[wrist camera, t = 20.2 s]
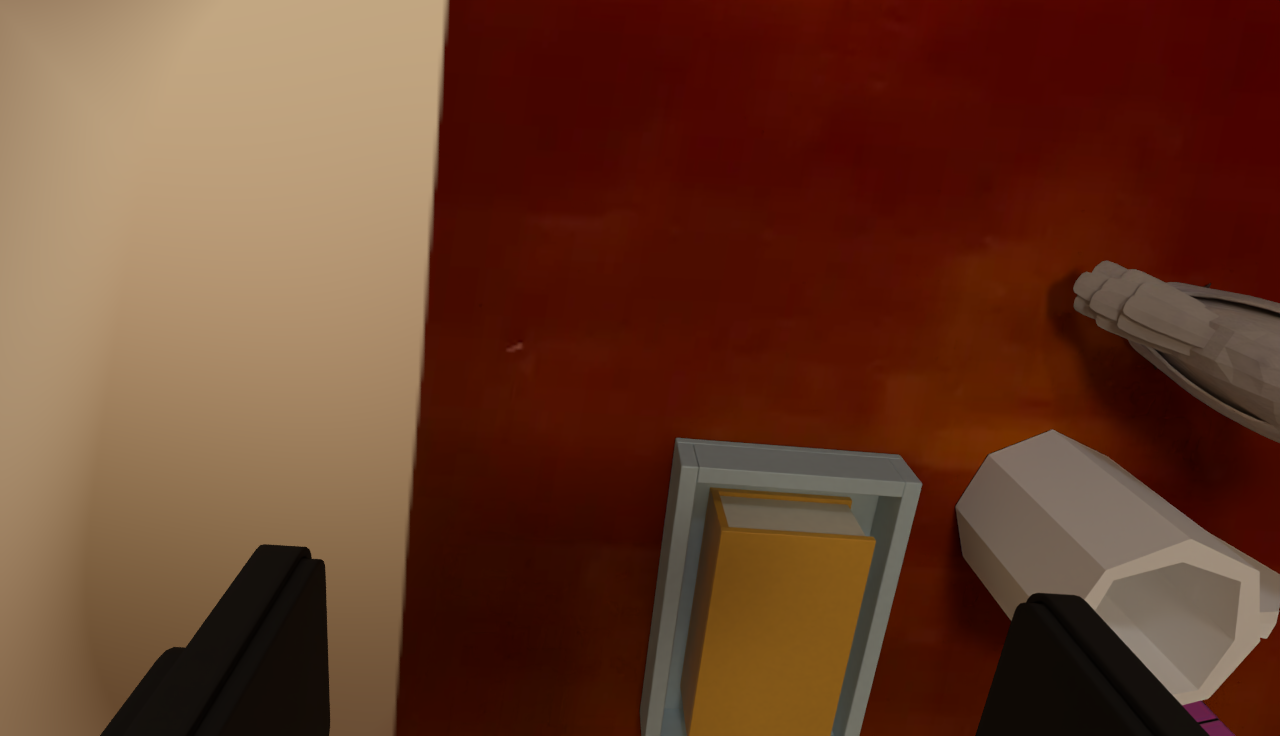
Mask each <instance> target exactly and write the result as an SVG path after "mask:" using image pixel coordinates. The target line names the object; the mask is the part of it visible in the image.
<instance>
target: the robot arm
mask: <svg viewBox="0 0 1280 736" xmlns="http://www.w3.org/2000/svg"><path fill="white" fill-rule="evenodd" d="M325 578H326V576H325V564H324V561H323V560H321V559H312V558H311V553H310V550H309V549H308V548H307V547H296V546H281V545H260V546H259V547H258V548H257V549H256V551H255V552H254V553H253V555H252V556H251V558H250V559H249V560H248V562H247V563H246V564H245V566H244V567H243V568H242V570H241V571H240V573H239V574H238V575H237V577H236V578H235V580H234V581H233V582H232V584H231V585H230V587H229V588H228V590H227V591H226V592H225V594H224V595H223V596H222V598H221V599H220V601H219V602H218V603H217V605H216V606H215V608H214V609H213V610H212V612H211V613H210V615H209V616H208V617H207V619H206V620H205V621H204V623H203V624H202V626H201V627H200V628H199V630H198V631H197V633H196V634H195V635H194V637H193V638H192V640H191V641H190V643H189V644H188V645H187V647H186V648H181V647H173V648H171V649H169V650H166V651H165V652H164V653H163V654H162V655H161V656H160V657H159V658H158V660H157V661H156V662H155V663H154V665H153V666H152V667H151V669H150V670H149V671H148V673H147V674H146V675H145V676H144V678H143V679H142V680H141V682H140V683H139V685H138V686H137V687H136V688H135V690H134V691H133V693H132V694H131V695H130V697H129V698H128V699H127V700H126V702H125V703H124V704H123V706H122V707H121V709H120V710H119V711H118V712H117V714H116V715H115V716H114V718H113V719H112V720H111V722H110V723H109V724H108V726H107V727H106V728H105V730H104V731H103V732H102V734H101V735H100V736H329V731H330V730H329V729H330V703H329V673H328V672H329V671H328V639H327V608H326V579H325ZM976 736H1210V735H1209V734H1208V733H1207V732H1206V731H1205V730H1204V729H1203V728H1202V727H1201V725H1200V724H1199V723H1198V722H1197V721H1196V720H1195V719H1194V718H1193V717H1192V716H1191V715H1190V713H1189V712H1188V711H1187V710H1186V709H1185V708H1184V707H1183V706H1182V705H1181V704H1180V703H1179V702H1178V700H1177V699H1176V698H1175V697H1174V696H1173V695H1172V694H1171V693H1170V692H1169V691H1168V690H1167V689H1166V687H1165V686H1164V685H1163V684H1162V683H1161V682H1160V681H1159V680H1158V679H1157V678H1156V677H1155V676H1154V674H1153V673H1152V672H1151V671H1150V670H1149V669H1148V668H1147V667H1146V666H1145V665H1144V664H1143V663H1142V661H1141V660H1140V659H1139V658H1138V657H1137V656H1136V655H1135V654H1134V653H1133V652H1132V651H1131V650H1130V648H1129V647H1128V646H1127V645H1126V644H1125V643H1124V642H1123V641H1122V640H1121V639H1120V638H1119V637H1118V635H1117V634H1116V633H1115V632H1114V631H1113V630H1112V629H1111V628H1110V627H1109V626H1108V625H1107V624H1106V622H1105V621H1104V620H1103V619H1102V618H1101V617H1100V616H1099V615H1098V614H1097V613H1096V612H1095V611H1094V609H1093V608H1092V607H1091V606H1090V605H1089V604H1088V603H1087V602H1086V601H1085V600H1084V599H1082V598H1081V597H1080V596H1076V595H1067V594H1051V593H1035V594H1032V595H1031V596H1030V597H1029V598H1028V599H1027V602H1026V603H1020V604H1019V605H1018V606H1017V608H1016V610H1015V612H1014V615H1013V618H1012V621H1011V624H1010V628H1009V631H1008V634H1007V637H1006V640H1005V643H1004V647H1003V650H1002V653H1001V656H1000V659H999V663H998V666H997V669H996V672H995V675H994V678H993V682H992V685H991V688H990V691H989V694H988V697H987V701H986V704H985V707H984V710H983V713H982V716H981V720H980V723H979V726H978V729H977V732H976Z"/></svg>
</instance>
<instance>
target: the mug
mask: <svg viewBox="0 0 1280 736" xmlns="http://www.w3.org/2000/svg"><path fill="white" fill-rule="evenodd" d="M955 508H956V515H957V521H958V528H959V535H960V541H961V548H962V555H963V557H964V559H965V560H966V561H967V563H968V564H969V565H970V567H971V568H972V569H973V571H974V572H975V573H976V575H977V576H978V577H979V579H980V580H981V581H982V583H983V584H984V585H985V587H986V588H987V589H988V591H989V592H990V593H991V595H992V596H993V597H994V599H995V600H996V601H997V603H998V604H999V605H1000V607H1001V608H1002V609H1003V611H1004V612H1005V613H1006V615H1007V616H1008V617H1009V619H1010V620H1011V621H1012V618H1013V615H1014V612H1015V610H1016V608H1017V606H1018V605H1019V604H1020V603H1026V602H1027V599H1028V598H1029V597H1030V596H1031V595H1032V594H1035V593H1051V594H1067V595H1076V596H1080V597H1081V598H1082V599H1084V600H1085V601H1086V602H1087V603H1088V604H1089V605H1090V606H1091V607H1092V608H1093V609H1094V611H1095V612H1096V613H1097V614H1098V615H1099V616H1100V617H1101V618H1102V619H1103V620H1104V621H1105V622H1106V624H1107V625H1108V626H1109V627H1110V628H1111V629H1112V630H1113V631H1114V632H1115V633H1116V634H1117V635H1118V637H1119V638H1120V639H1121V640H1122V641H1123V642H1124V643H1125V644H1126V645H1127V646H1128V647H1129V648H1130V650H1131V651H1132V652H1133V653H1134V654H1135V655H1136V656H1137V657H1138V658H1139V659H1140V660H1141V661H1142V663H1143V664H1144V665H1145V666H1146V667H1147V668H1148V669H1149V670H1150V671H1151V672H1152V673H1153V674H1154V676H1155V677H1156V678H1157V679H1158V680H1159V681H1160V682H1161V683H1162V684H1163V685H1164V686H1165V687H1166V689H1167V690H1168V691H1169V692H1170V693H1171V694H1172V695H1173V696H1174V697H1175V698H1176V699H1177V700H1178V702H1179V703H1180V704H1181V705H1185V704H1189V703H1193V702H1197V701H1201V700H1205V699H1209V698H1210V696H1211V695H1212V694H1213V693H1214V692H1215V691H1216V690H1217V689H1218V688H1219V686H1220V685H1221V684H1222V683H1223V682H1224V681H1225V680H1226V679H1227V677H1228V676H1229V675H1230V674H1231V673H1232V672H1233V671H1234V670H1235V669H1236V667H1237V666H1238V665H1239V664H1240V663H1241V662H1242V661H1243V660H1244V659H1245V657H1246V656H1247V655H1248V654H1249V653H1250V652H1251V651H1252V650H1253V649H1254V647H1255V646H1256V645H1257V644H1258V643H1259V642H1260V638H1266V639H1267V638H1268V636H1269V634H1270V633H1271V631H1272V629H1273V628H1274V626H1275V625H1276V622H1277V617H1278V613H1279V606H1280V574H1278V573H1276V572H1275V571H1273V570H1271V569H1270V568H1268V567H1266V566H1265V565H1263V564H1261V563H1260V562H1258V561H1256V560H1255V559H1253V558H1251V557H1249V556H1248V555H1246V554H1244V553H1243V552H1241V551H1239V550H1238V549H1236V548H1234V547H1233V546H1231V545H1229V544H1227V543H1226V542H1224V541H1222V540H1221V539H1219V538H1217V537H1216V536H1214V535H1212V534H1211V533H1209V532H1207V531H1205V530H1204V529H1203V528H1201V527H1200V526H1199V525H1198V524H1196V523H1195V522H1194V521H1192V520H1191V519H1190V518H1188V517H1187V516H1186V515H1184V514H1183V513H1182V512H1180V511H1179V510H1178V509H1176V508H1175V507H1174V506H1172V505H1171V504H1170V503H1168V502H1167V501H1166V500H1164V499H1163V498H1162V497H1161V496H1159V495H1158V494H1157V493H1155V492H1154V491H1153V490H1151V489H1150V488H1149V487H1147V486H1146V485H1145V484H1143V483H1142V482H1141V481H1139V480H1138V479H1137V478H1135V477H1134V476H1133V475H1131V474H1130V473H1129V472H1127V471H1126V470H1125V469H1124V468H1122V467H1121V466H1120V465H1118V464H1117V463H1116V462H1114V461H1113V460H1112V459H1110V458H1109V457H1108V456H1106V455H1104V454H1101V453H1099V452H1097V451H1095V450H1093V449H1091V448H1089V447H1087V446H1085V445H1083V444H1081V443H1079V442H1077V441H1075V440H1073V439H1071V438H1069V437H1067V436H1065V435H1063V434H1061V433H1059V432H1057V431H1055V430H1050V431H1048V432H1045V433H1043V434H1040V435H1037V436H1035V437H1032V438H1030V439H1027V440H1025V441H1022V442H1020V443H1017V444H1014V445H1012V446H1009V447H1007V448H1004V449H1002V450H999V451H996V452H994V453H991V454H989V455H988V456H987V458H986V459H985V461H984V462H983V464H982V465H981V467H980V469H979V470H978V472H977V473H976V475H975V476H974V478H973V479H972V481H971V483H970V484H969V486H968V487H967V489H966V490H965V492H964V493H963V495H962V497H961V498H960V500H959V501H958V503H957V504H956V506H955Z"/></svg>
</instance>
